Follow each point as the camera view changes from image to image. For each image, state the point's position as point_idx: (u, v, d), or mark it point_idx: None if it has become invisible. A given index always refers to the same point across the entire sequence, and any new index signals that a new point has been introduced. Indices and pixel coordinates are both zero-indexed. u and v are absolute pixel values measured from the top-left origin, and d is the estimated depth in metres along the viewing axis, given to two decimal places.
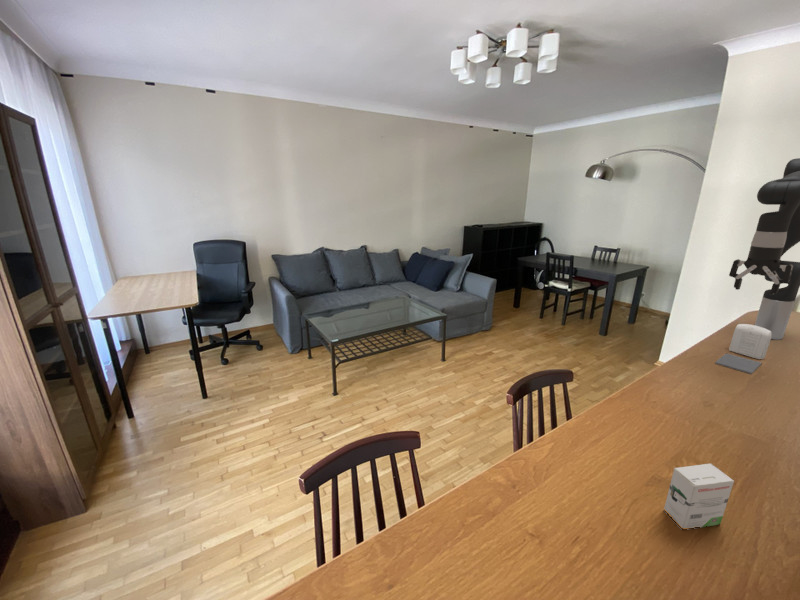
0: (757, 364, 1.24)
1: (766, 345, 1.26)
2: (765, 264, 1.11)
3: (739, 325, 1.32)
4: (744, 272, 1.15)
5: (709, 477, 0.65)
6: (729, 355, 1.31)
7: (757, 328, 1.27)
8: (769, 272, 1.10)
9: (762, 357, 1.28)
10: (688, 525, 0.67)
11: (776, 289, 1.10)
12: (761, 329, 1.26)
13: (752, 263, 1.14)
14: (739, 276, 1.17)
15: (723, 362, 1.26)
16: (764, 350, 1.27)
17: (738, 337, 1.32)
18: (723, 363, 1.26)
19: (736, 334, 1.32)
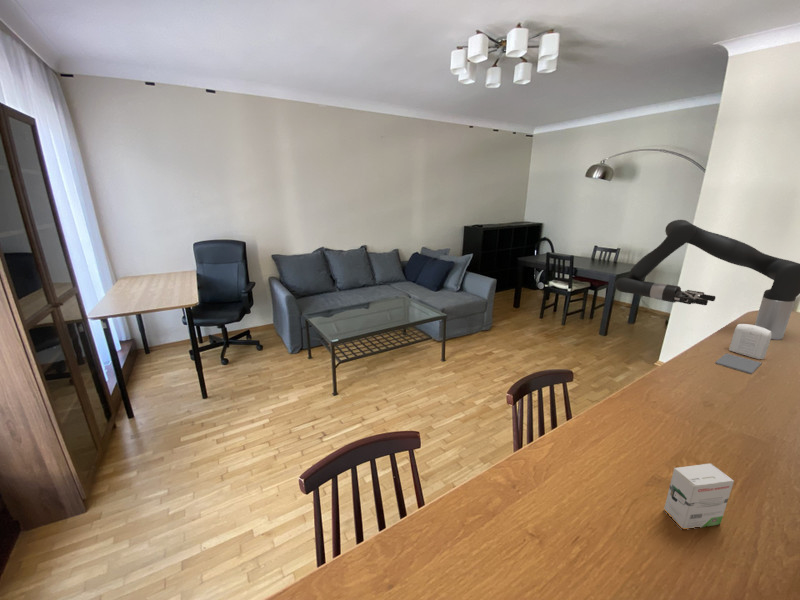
0: (757, 364, 1.24)
1: (766, 345, 1.26)
2: None
3: (739, 325, 1.32)
4: None
5: (708, 477, 0.65)
6: (729, 355, 1.31)
7: (757, 328, 1.27)
8: None
9: (762, 357, 1.28)
10: (688, 525, 0.67)
11: None
12: (761, 329, 1.26)
13: None
14: None
15: (723, 362, 1.26)
16: (764, 350, 1.27)
17: (738, 337, 1.32)
18: (723, 363, 1.26)
19: (736, 334, 1.32)
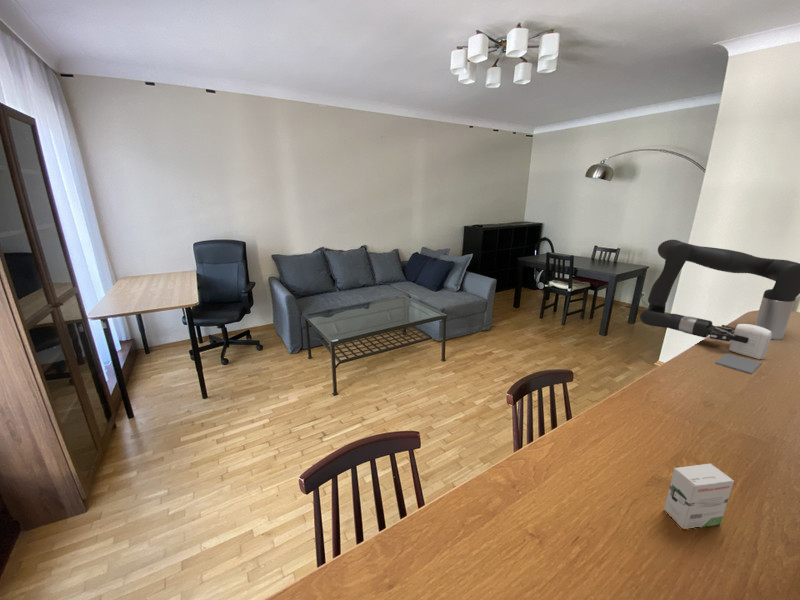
0: (757, 364, 1.24)
1: (766, 345, 1.26)
2: None
3: (739, 325, 1.32)
4: None
5: (708, 477, 0.65)
6: (729, 355, 1.31)
7: (757, 328, 1.27)
8: None
9: (762, 357, 1.28)
10: (688, 525, 0.67)
11: None
12: (761, 329, 1.26)
13: None
14: None
15: (723, 362, 1.26)
16: (764, 350, 1.27)
17: None
18: (723, 363, 1.26)
19: (736, 334, 1.32)
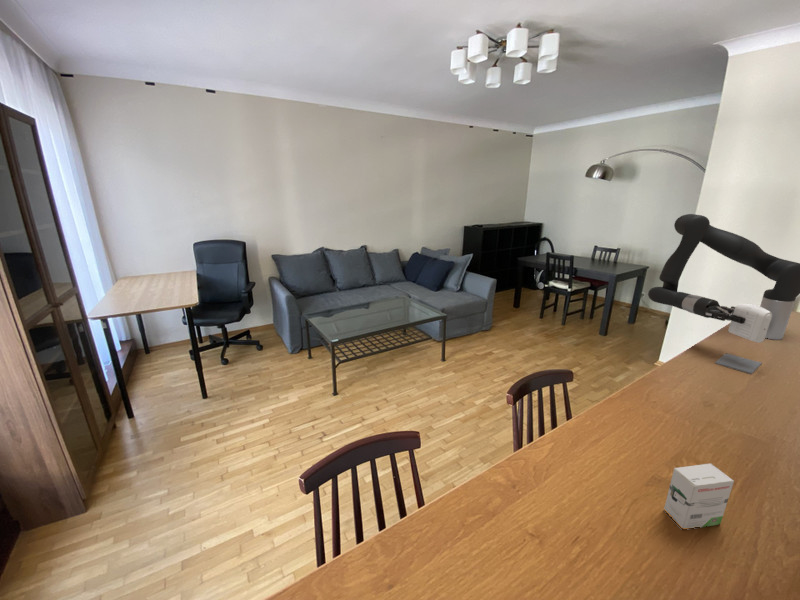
0: (757, 364, 1.24)
1: (763, 326, 1.16)
2: None
3: (739, 304, 1.23)
4: None
5: (708, 477, 0.65)
6: (729, 355, 1.31)
7: (755, 308, 1.18)
8: None
9: (758, 340, 1.18)
10: (687, 525, 0.67)
11: None
12: (759, 309, 1.17)
13: None
14: None
15: (723, 362, 1.26)
16: (760, 332, 1.17)
17: None
18: (723, 363, 1.26)
19: (734, 313, 1.24)
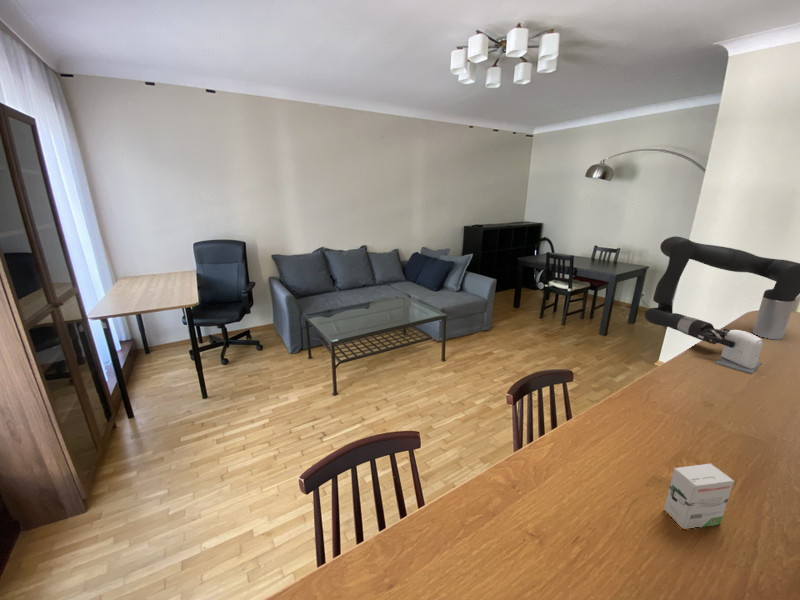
0: (757, 364, 1.24)
1: (754, 353, 1.19)
2: None
3: (731, 331, 1.26)
4: None
5: (709, 477, 0.65)
6: None
7: (747, 335, 1.21)
8: None
9: (750, 366, 1.21)
10: (688, 525, 0.67)
11: None
12: (750, 336, 1.20)
13: None
14: None
15: (723, 362, 1.26)
16: (752, 359, 1.20)
17: None
18: (723, 363, 1.26)
19: (727, 339, 1.27)
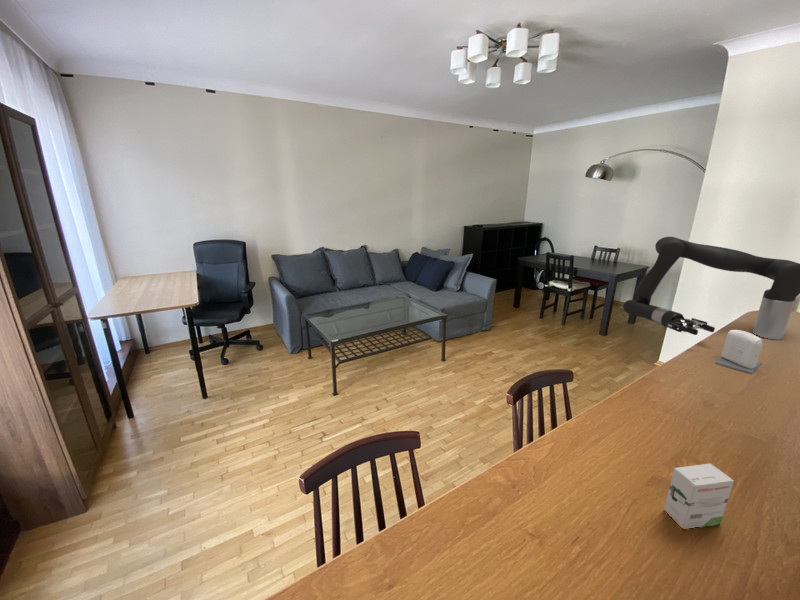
0: (757, 364, 1.24)
1: (754, 353, 1.19)
2: None
3: (731, 331, 1.26)
4: None
5: (708, 477, 0.65)
6: None
7: (747, 335, 1.21)
8: None
9: (750, 366, 1.21)
10: (688, 525, 0.67)
11: None
12: (750, 336, 1.20)
13: None
14: None
15: (723, 362, 1.26)
16: (752, 359, 1.20)
17: (729, 343, 1.26)
18: (723, 363, 1.26)
19: (727, 339, 1.27)
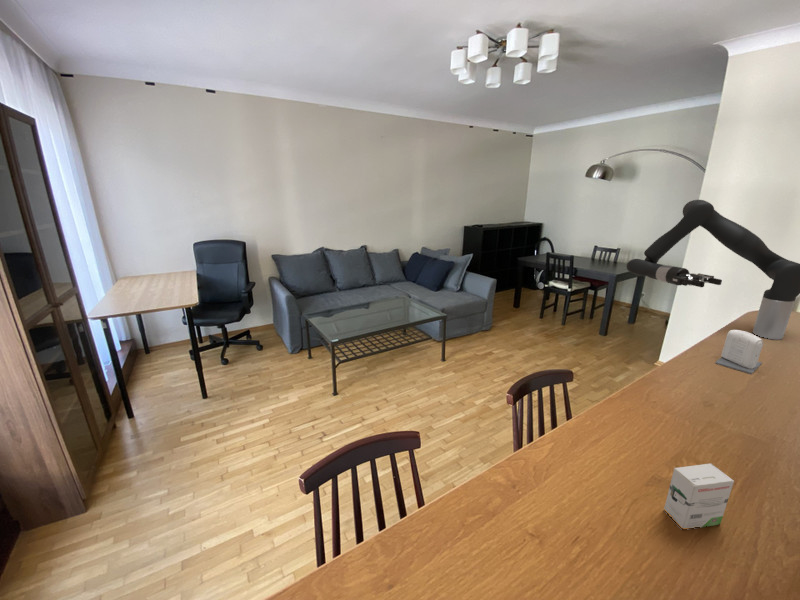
0: (757, 364, 1.24)
1: (754, 353, 1.19)
2: None
3: (731, 331, 1.26)
4: None
5: (709, 477, 0.65)
6: None
7: (747, 335, 1.21)
8: None
9: (750, 366, 1.21)
10: (688, 525, 0.67)
11: (696, 285, 1.32)
12: (750, 336, 1.20)
13: None
14: None
15: (723, 362, 1.26)
16: (752, 359, 1.20)
17: (729, 343, 1.26)
18: (723, 363, 1.26)
19: (727, 339, 1.27)
